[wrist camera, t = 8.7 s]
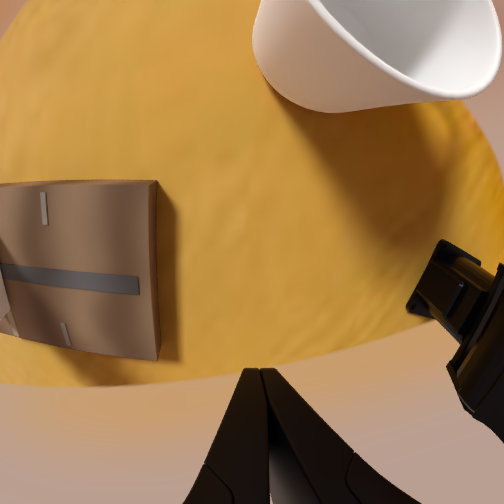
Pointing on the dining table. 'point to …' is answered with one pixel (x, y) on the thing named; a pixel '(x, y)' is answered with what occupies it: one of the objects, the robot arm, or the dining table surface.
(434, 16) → the mug
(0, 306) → the fader tab
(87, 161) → the dining table surface
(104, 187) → the fader console
